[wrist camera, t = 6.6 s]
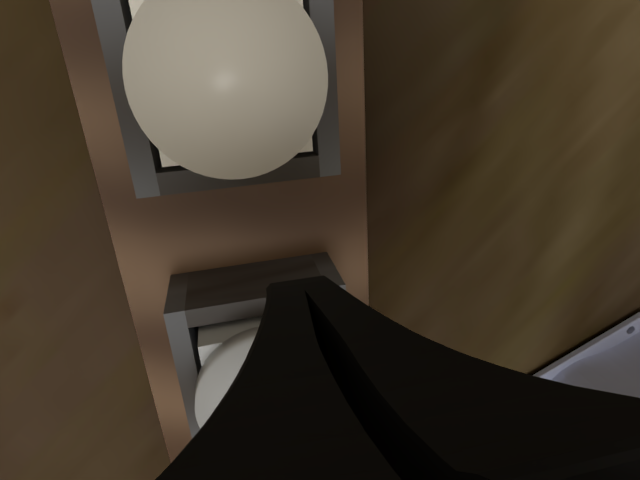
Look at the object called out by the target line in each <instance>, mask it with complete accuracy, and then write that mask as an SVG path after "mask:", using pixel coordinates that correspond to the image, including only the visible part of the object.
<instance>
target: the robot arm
mask: <svg viewBox="0 0 640 480" xmlns="http://www.w3.org/2000/svg"><path fill="white" fill-rule="evenodd" d="M266 293H267V297H266V303H265V308H264V312H263V315H262V319H261V322H260V325H259V328H258V331H257V333H256V336H255V338H254V341H253V343H252V345H251V347H250V350H249V352H248V354H247V357H246V359H245V361H244V363H243V365H242V366H241V368H240V370H239V372H238V374H237V376H236V377H235V379H234V381H233V382H232V384H231V386H230V388H229V389H228V391H227V392H226V394H225V395H224V397H223V398H222V400H221V401H220V403H219V404H218V406H217V407H216V408H215V410H214V411H213V413H212V414H211V416H210V417H209V418H208V420H207V421H206V422H205V424H204V425H203V426H202V427H201V429H200V430H199V431H198V432H197V434H196V435H195V436H194V437H193V438H192V439H191V441H190V442H189V443H188V444H187V445H186V446H185V448H184V449H183V450H182V451H181V452H180V453H179V455H178V456H177V457H176V458H175V459H174V460H173V462H172V463H171V464H170V465H169V466H168V467H167V468H166V469H165V470H164V471H163V472H162V474H161V475H160V476H159V477H157V478H156V479H155V480H640V312H638V313H637V314H635V315H633V316H632V317H630V318H628V319H627V320H625V321H623V322H621V323H620V324H618V325H616V326H615V327H613V328H611V329H610V330H608V331H606V332H605V333H603V334H601V335H600V336H598V337H596V338H594V339H593V340H591V341H589V342H588V343H586V344H584V345H583V346H581V347H579V348H578V349H576V350H574V351H573V352H571V353H569V354H567V355H566V356H564V357H562V358H561V359H559V360H557V361H556V362H554V363H552V364H551V365H549V366H547V367H545V368H544V369H542V370H540V371H539V372H537V373H535V374H534V375H528V374H525V373H521V372H518V371H515V370H511V369H508V368H504V367H501V366H498V365H495V364H492V363H489V362H486V361H483V360H480V359H477V358H474V357H471V356H469V355H466V354H463V353H461V352H458V351H455V350H453V349H450V348H448V347H446V346H444V345H441V344H439V343H437V342H434V341H432V340H430V339H428V338H425V337H423V336H421V335H419V334H417V333H415V332H413V331H411V330H409V329H407V328H405V327H404V326H402V325H400V324H398V323H396V322H394V321H393V320H391V319H389V318H387V317H386V316H384V315H382V314H381V313H379V312H377V311H376V310H374V309H372V308H371V307H369V306H368V305H366V304H365V303H363V302H362V301H360V300H359V299H357V298H356V297H354V296H353V295H351V294H350V293H349V292H347V291H346V290H344V289H343V288H341V287H340V286H339V285H337V284H336V283H334V282H333V281H332V280H330V279H329V278H327V277H326V276H324V275H323V276H316V277H309V278H302V279H296V280H289V281H282V282H275V283H270V284H269V286H268V287H267V288H266Z"/></svg>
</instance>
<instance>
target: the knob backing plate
mask: <svg viewBox="0 0 640 480" xmlns="http://www.w3.org/2000/svg"><path fill="white" fill-rule="evenodd" d="M49 2H50V6H51V10H52V14H53V17H54V21H55V25H56V29H57V33H58V36H59V40H60V44H61V48H62V52H63V55H64V59H65V63H66V67H67V71H68V74H69V78H70V82H71V86H72V90H73V93H74V97H75V101H76V105H77V109H78V112H79V116H80V120H81V124H82V128H83V132H84V135H85V139H86V143H87V147H88V151H89V154H90V158H91V162H92V166H93V170H94V173H95V177H96V181H97V185H98V189H99V192H100V196H101V200H102V204H103V208H104V211H105V215H106V219H107V223H108V227H109V230H110V234H111V238H112V242H113V246H114V249H115V253H116V257H117V261H118V265H119V268H120V272H121V276H122V280H123V284H124V287H125V291H126V295H127V299H128V303H129V306H130V310H131V314H132V318H133V322H134V325H135V329H136V333H137V337H138V341H139V344H140V348H141V352H142V356H143V360H144V363H145V367H146V371H147V375H148V379H149V382H150V386H151V390H152V394H153V398H154V401H155V405H156V409H157V413H158V417H159V420H160V424H161V428H162V432H163V436H164V439H165V443H166V447H167V451H168V455H169V458H170V462H171V463H172V462H173V460H174V459H175V458H176V457H177V456H178V455H179V453H180V452H181V451H182V450H183V449H184V448H185V446H186V445H187V444H188V443H189V442H190V441H191V439H192V438H193V437H194V436H195V435H196V434H197V432H198V431H199V430H200V427H199V425H198V423H197V420H196V416H195V391H196V382H197V377H198V374H199V372H200V369H201V367H202V366H201V361H200V356H199V351H198V329H199V326H203V325H209V324H215V323H221V322H227V321H233V320H239V319H245V318H250V317H256V316H262V315H263V312H264V308H265V303H266V297H267V293H266V288H267V287H268V286H269V284H270V283H275V282H282V281H289V280H296V279H302V278H309V277H316V276H323V275H324V276H326V277H327V278H329V279H330V280H332V281H333V282H334V283H336V284H337V285H339V286H340V287H341V288H343V289H344V290H346V291H347V292H349V293H350V294H351V295H353V296H354V297H356V298H357V299H359V300H360V301H362V302H363V303H365V304H366V305H368V306H369V288H368V239H367V191H366V142H365V94H364V45H363V0H303V8H304V10H305V11H306V13H307V14H308V16H309V17H310V19H311V20H312V22H313V24H314V26H315V28H316V30H317V32H318V34H319V36H320V39H321V42H322V45H323V48H324V52H325V56H326V60H327V69H328V90H327V98H326V103H325V107H324V111H323V114H322V116H321V119H320V121H319V124H318V126H317V128H316V130H315V131H314V133H313V135H312V145H313V151H309V152H300V153H297V154H296V155H295V156H294V157H293V158H292V159H290V160H289V161H288V162H286V163H285V164H283V165H282V166H280V167H279V168H277V169H275V170H272V171H270V172H268V173H266V174H262V175H259V176H256V177H251V178H246V179H233V180H229V179H217V178H212V177H207V176H204V175H201V174H198V173H195V172H192V171H190V170H188V169H186V168H184V167H182V166H180V165H178V166H169V167H162V164H161V159H160V154H159V149H158V148H157V147H156V146H155V145H154V144H153V143H152V142H151V141H150V140H149V138H148V137H147V136H146V134H145V133H144V132H143V130H142V129H141V127H140V126H139V124H138V122H137V120H136V119H135V117H134V115H133V112H132V110H131V108H130V105H129V103H128V99H127V96H126V92H125V88H124V81H123V73H122V58H123V49H124V43H125V39H126V36H127V32H128V29H129V27H130V24H131V22H132V15H131V10H130V5H129V0H49Z"/></svg>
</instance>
